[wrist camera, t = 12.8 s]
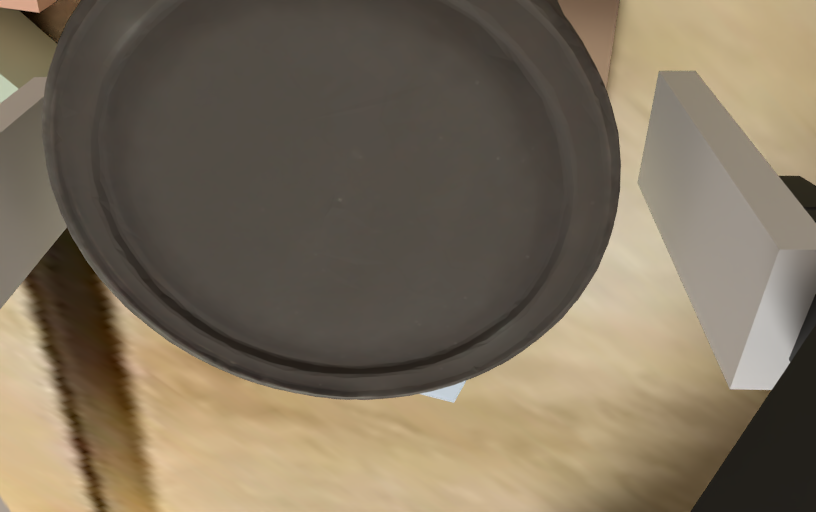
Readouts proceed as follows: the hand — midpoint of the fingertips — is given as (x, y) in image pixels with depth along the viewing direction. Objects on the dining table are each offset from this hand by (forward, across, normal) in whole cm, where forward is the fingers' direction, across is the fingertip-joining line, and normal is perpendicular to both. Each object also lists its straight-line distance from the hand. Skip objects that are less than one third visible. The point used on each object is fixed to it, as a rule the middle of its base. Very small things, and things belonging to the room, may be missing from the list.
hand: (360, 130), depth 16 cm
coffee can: (+10, 0, 0) cm, 10 cm away
